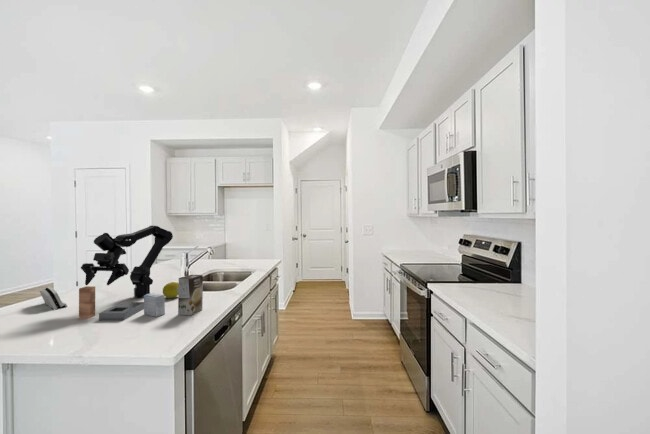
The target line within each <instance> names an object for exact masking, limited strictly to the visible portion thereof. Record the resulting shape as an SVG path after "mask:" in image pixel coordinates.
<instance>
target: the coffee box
mask: <svg viewBox="0 0 650 434" xmlns="http://www.w3.org/2000/svg"><path fill="white" fill-rule="evenodd" d="M203 277H204V275H202V274H188V275H185V276H181V277H178V283H179V286H178V296H177V300H178V301H177V302H178V303H177V305H178V306H177V314H178V315H180V316H192V315H194V314H197V313H199V312H200V310H201V311H203V290H204V289H203V288H204V287H203V285H204V284H203V280H204V278H203Z"/></svg>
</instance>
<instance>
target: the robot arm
mask: <svg viewBox="0 0 650 434" xmlns="http://www.w3.org/2000/svg"><path fill="white" fill-rule="evenodd" d="M151 235H152V236H153V237H154V243H153V245H152V247H151V248H150V250H149V251H148V253H147V255H146V256H145V258H144V259H143V261H142V262H141V264H140V265H139V266H134V267H133V268H132V270H131V271H130V269H129V267H127V265H126V263H122V262H121V263H120V261H119V259H120V258H121V256H123V255H127V252H126V249H125V248H130V247H131V246H133V245H135V244H136V242H138V241H139V240H142V239H144V238H147V237H149V236H151ZM173 238H174V236H173V232H172V231H170V230H167V229H164V228H162V227H160V226H158V225H149V226H147V227H144V228H142V229H139V230H136V231H134V232H130V233H124V234H123V233H122V234H118V235H116V236H115V237H114V238H112V236H111V235H110V234H109V233H108V232H103V233H102V234H100V235H99V236H97V237H96V238H94V240H93V244H95V245H96V246H97V247H98V248H100V249H101V250H102V251H103V252H96V253H94V255H93V261H96V264H97V265H95V264H94V263H92V262H91V263H88V262H87V263H86V262H85V263H82V265H81V266H80V269H81V270H82V271H83V273H84V274H85V281H84V285H85V286H88V285H89V284H90V283H91V282H92V281H93V279H94V278H95V277H96V274H97V273H98V272H101V271H102V272H111V274H110V276H109V278H108V279H107V282H106V286H110V285H111V284H112V283H114V282H115V281H117V280H118V279H120V278H122V277H124V276H127V275H128V274H129V272H130V275H129V278H130V279H129V280H130V281H131V283H132V285H134V288H133V296H134V297H135V298H136V299H141V298H144V295H147V294H150V291H151V290H150V289H151V285H153V283H154V280H153V279H152V278H151V277H150V275H151V268H152V267H153V265H154V263H155V262H156V260H157V258H158V256H159V254H161V251H162V250H163V248H164V247H165V246H166V245H168V244H170V243H171V241H172V240H173ZM122 247H123V248H122ZM106 251H107V252H106Z"/></svg>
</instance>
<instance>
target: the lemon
mask: <svg viewBox="0 0 650 434" xmlns="http://www.w3.org/2000/svg"><path fill="white" fill-rule="evenodd" d="M178 286H179V282H173V281H172V282H168V283H166V284H165V285H164V286H163V288H162V295H165V298H167V299H174V298H176V297H178Z"/></svg>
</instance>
